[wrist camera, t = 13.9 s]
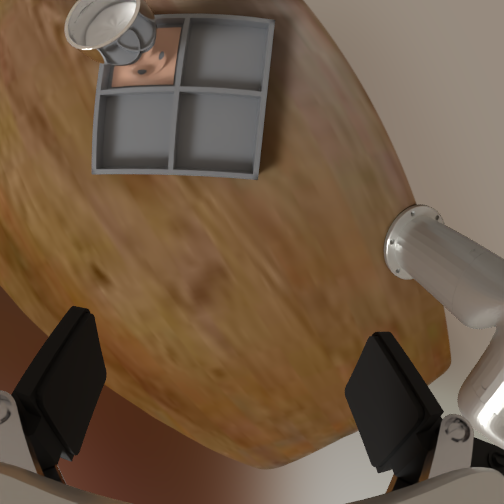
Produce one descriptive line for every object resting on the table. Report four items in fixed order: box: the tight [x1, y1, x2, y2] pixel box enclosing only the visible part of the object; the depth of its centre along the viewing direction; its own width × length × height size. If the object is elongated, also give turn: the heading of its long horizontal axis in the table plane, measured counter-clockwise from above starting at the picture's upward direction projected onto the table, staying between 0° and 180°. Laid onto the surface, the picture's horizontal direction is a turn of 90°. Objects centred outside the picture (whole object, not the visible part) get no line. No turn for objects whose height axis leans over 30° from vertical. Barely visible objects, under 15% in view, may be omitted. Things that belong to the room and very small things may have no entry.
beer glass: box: [65, 0, 169, 78], centre depth 20 cm, size 7×7×15 cm
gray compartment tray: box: [92, 14, 275, 180], centre depth 29 cm, size 20×20×3 cm
